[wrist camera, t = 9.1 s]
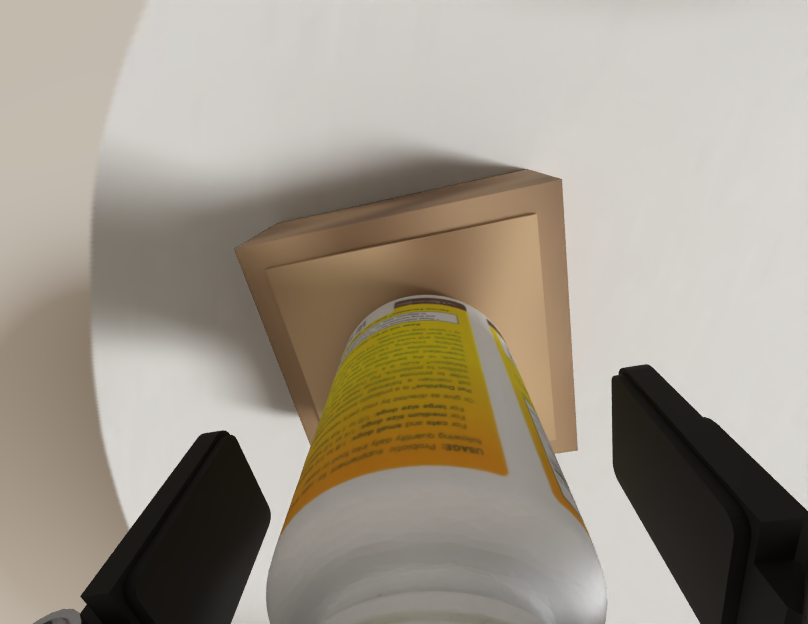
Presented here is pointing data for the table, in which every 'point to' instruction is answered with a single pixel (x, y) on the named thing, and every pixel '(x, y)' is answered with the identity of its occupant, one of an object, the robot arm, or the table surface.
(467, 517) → the supplement bottle
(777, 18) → the table surface
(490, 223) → the base
